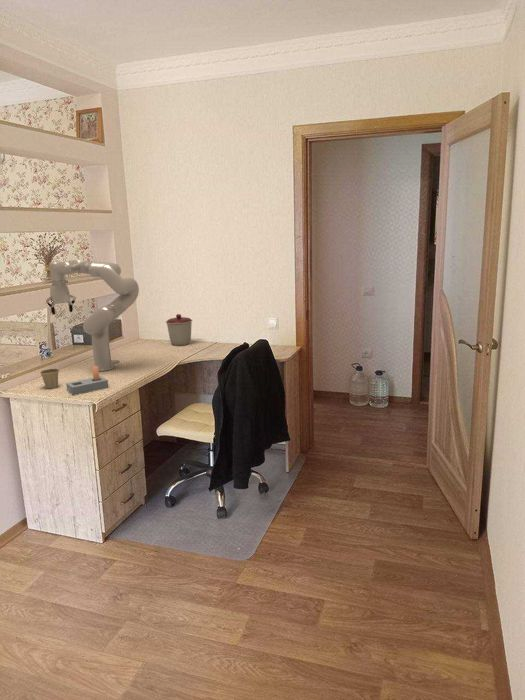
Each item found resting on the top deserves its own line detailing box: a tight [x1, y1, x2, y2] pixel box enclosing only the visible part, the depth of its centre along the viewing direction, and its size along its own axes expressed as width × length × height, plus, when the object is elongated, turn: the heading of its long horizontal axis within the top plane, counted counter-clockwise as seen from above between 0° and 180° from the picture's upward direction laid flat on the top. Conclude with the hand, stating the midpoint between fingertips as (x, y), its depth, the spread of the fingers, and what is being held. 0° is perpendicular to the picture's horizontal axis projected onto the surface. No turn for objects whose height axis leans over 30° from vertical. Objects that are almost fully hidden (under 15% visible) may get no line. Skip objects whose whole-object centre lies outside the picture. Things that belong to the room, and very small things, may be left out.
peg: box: [91, 365, 100, 381], centre depth 274 cm, size 3×3×11 cm
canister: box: [165, 313, 193, 347], centre depth 364 cm, size 18×18×21 cm
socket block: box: [65, 375, 109, 396], centre depth 271 cm, size 18×10×4 cm, turn 127°
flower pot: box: [39, 368, 60, 389], centre depth 278 cm, size 9×9×9 cm
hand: (62, 313), depth 306 cm, fingers open, 9 cm apart
